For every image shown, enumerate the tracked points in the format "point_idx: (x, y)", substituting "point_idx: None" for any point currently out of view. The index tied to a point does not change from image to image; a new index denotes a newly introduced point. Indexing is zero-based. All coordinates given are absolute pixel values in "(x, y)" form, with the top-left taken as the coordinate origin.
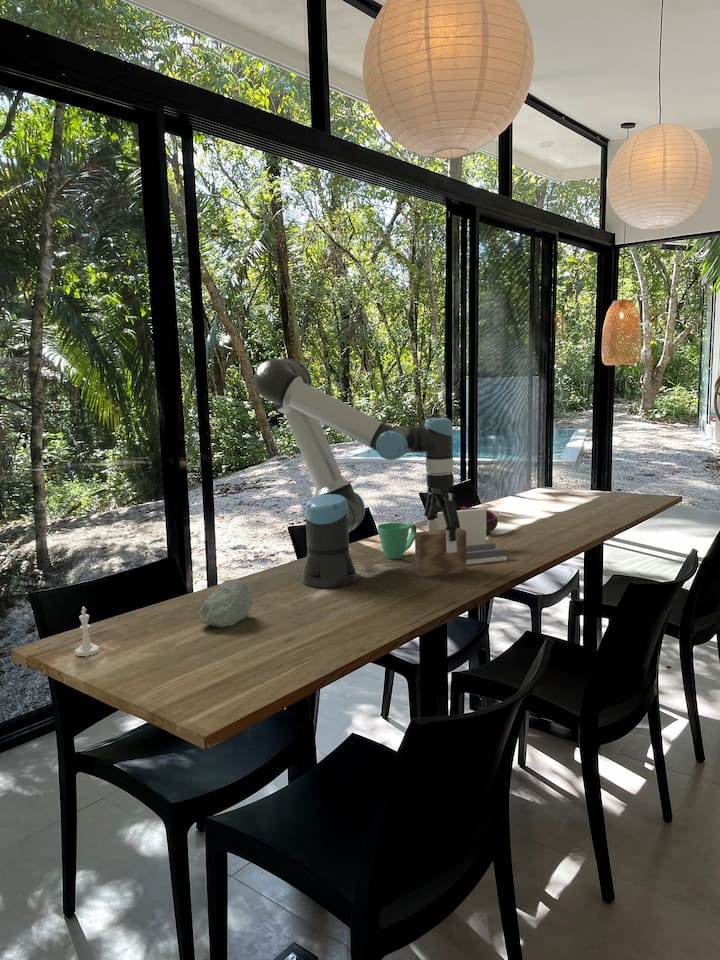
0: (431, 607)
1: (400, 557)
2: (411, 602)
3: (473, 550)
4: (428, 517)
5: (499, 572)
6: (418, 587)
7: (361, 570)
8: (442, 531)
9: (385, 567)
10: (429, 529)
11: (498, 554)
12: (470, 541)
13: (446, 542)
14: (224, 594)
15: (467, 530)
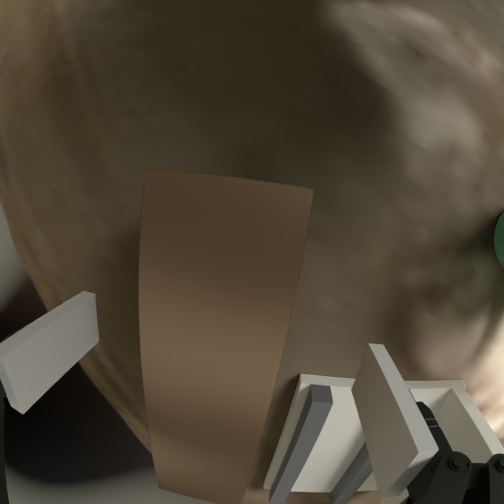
0: (4, 102)
1: (495, 249)
2: (40, 63)
3: (355, 464)
4: (439, 474)
5: None
6: (117, 112)
7: (425, 36)
8: (207, 426)
9: (431, 125)
10: (393, 401)
11: (274, 484)
12: None
13: (57, 315)
14: None
15: None
